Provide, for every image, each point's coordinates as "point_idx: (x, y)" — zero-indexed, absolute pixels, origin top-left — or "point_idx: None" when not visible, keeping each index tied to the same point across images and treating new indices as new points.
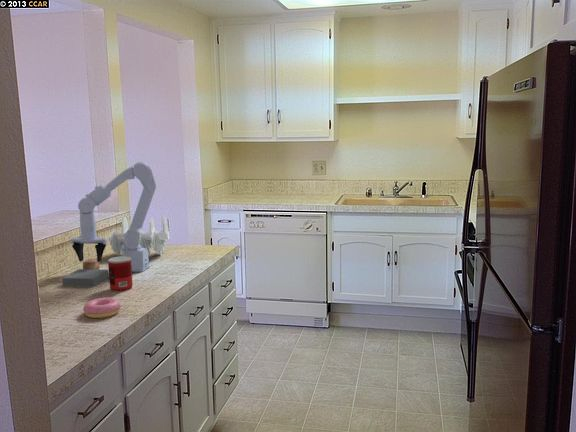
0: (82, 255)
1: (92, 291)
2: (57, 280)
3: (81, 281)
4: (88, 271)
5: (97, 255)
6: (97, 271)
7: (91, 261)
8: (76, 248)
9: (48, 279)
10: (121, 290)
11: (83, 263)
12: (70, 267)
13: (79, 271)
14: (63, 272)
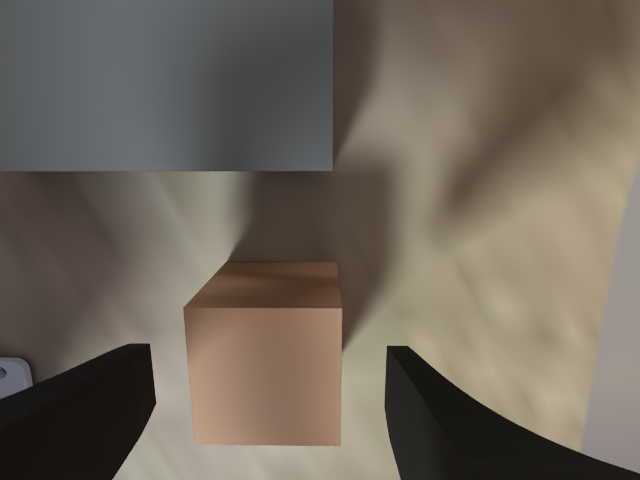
0: (400, 449)
1: None
2: (498, 10)
3: None
4: (149, 75)
5: (69, 380)
6: (32, 83)
7: (231, 343)
8: (505, 461)
9: (614, 40)
10: None
11: (330, 302)
12: None
13: (266, 64)
14: (562, 299)
